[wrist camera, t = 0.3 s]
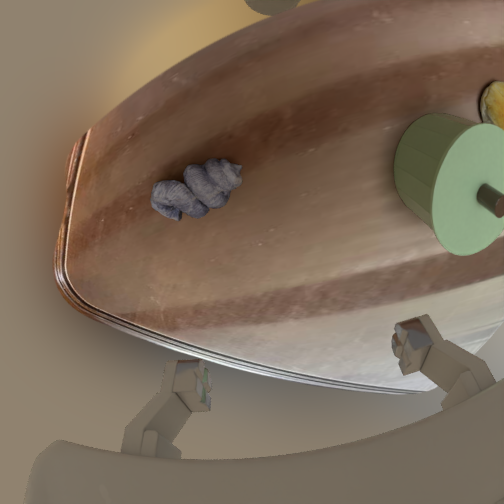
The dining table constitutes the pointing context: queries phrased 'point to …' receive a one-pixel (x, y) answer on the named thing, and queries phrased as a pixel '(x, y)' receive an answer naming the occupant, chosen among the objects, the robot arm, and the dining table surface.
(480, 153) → the pot lid
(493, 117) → the bread roll
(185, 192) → the seashell
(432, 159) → the pot
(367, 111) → the dining table surface
